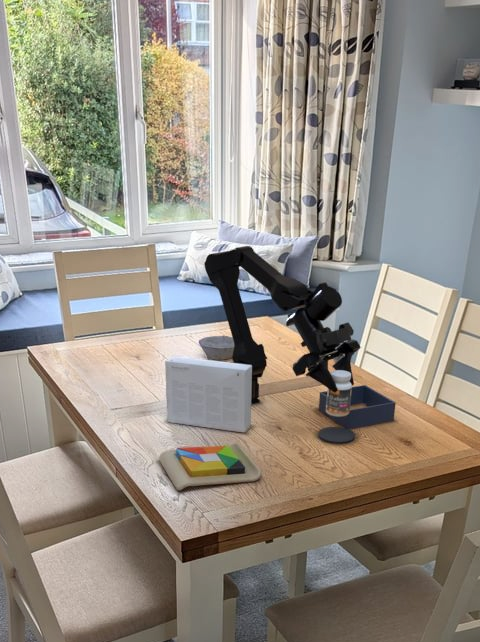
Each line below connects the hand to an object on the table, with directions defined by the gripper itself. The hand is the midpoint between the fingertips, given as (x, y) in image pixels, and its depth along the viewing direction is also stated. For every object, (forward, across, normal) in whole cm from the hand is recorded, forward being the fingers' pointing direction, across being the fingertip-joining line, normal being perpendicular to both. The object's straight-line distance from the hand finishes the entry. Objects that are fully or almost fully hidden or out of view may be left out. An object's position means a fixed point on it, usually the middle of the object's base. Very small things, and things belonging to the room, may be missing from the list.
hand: (344, 388), depth 176 cm
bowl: (-37, +21, +57) cm, 71 cm away
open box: (+4, +14, +13) cm, 20 cm away
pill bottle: (+4, 0, +6) cm, 7 cm away
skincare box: (-10, -18, +29) cm, 35 cm away
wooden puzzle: (+3, -35, +15) cm, 38 cm away
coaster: (+8, 0, +10) cm, 13 cm away
